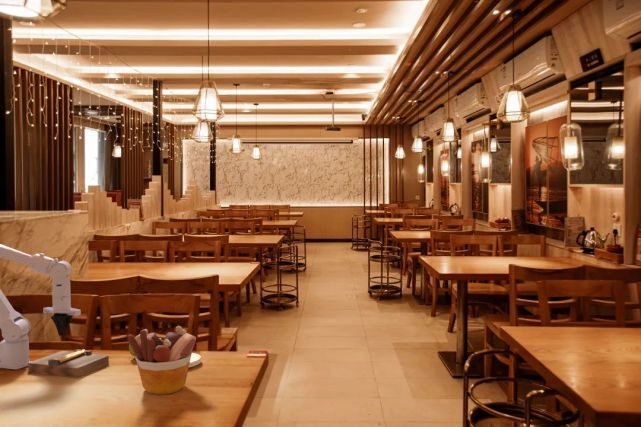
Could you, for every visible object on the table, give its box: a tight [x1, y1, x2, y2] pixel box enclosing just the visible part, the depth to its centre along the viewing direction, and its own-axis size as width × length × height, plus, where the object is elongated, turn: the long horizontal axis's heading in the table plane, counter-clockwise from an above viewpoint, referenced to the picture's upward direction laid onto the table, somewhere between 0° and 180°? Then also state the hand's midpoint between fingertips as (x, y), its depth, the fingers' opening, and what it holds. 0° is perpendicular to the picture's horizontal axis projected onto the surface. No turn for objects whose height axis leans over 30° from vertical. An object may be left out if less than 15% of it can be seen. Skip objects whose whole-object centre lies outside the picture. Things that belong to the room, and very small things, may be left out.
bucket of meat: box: [126, 325, 197, 396], centre depth 167 cm, size 20×16×20 cm
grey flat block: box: [27, 349, 110, 379], centre depth 189 cm, size 20×15×5 cm
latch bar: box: [54, 349, 87, 362], centre depth 189 cm, size 3×12×1 cm, turn 161°
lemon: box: [128, 335, 138, 357], centre depth 200 cm, size 6×6×8 cm
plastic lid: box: [189, 352, 202, 368], centre depth 192 cm, size 14×14×2 cm
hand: (62, 335), depth 194 cm, fingers closed
